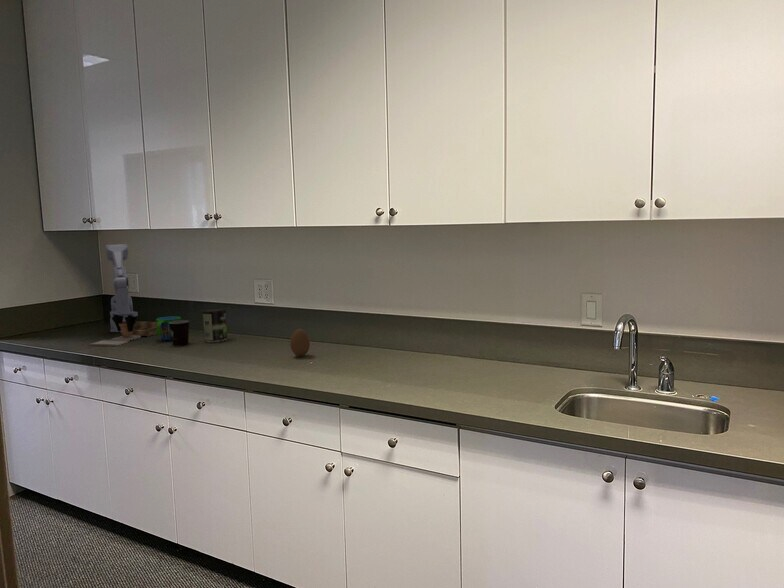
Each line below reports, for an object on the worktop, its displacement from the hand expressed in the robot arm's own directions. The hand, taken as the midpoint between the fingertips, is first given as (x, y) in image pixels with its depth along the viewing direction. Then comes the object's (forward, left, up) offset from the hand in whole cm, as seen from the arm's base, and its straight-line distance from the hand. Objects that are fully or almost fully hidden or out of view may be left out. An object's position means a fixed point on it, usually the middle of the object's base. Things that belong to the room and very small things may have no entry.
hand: (125, 331), depth 288 cm
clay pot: (0, +1, -2) cm, 2 cm away
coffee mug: (+35, -5, -4) cm, 36 cm away
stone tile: (0, 0, -4) cm, 4 cm away
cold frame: (-1, +12, -4) cm, 13 cm away
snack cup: (+22, +4, -4) cm, 23 cm away
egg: (+99, -13, -4) cm, 100 cm away
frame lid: (0, -10, -4) cm, 11 cm away
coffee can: (+45, +7, -4) cm, 46 cm away
